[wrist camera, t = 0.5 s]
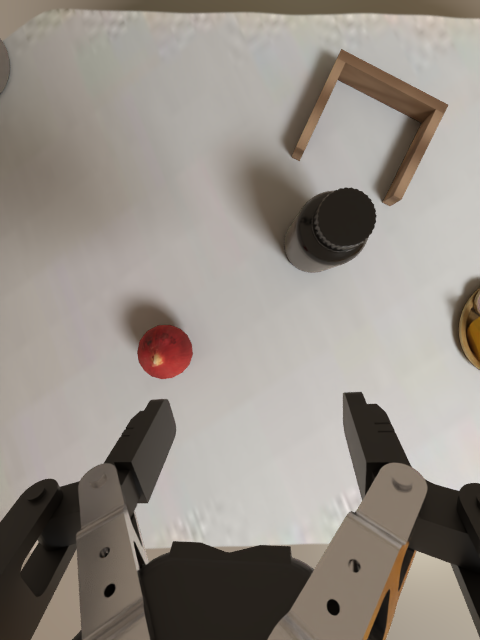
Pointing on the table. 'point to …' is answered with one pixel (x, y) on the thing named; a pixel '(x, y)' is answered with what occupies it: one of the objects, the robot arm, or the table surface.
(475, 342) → the toy sandwich meal
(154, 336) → the onion
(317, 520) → the table surface
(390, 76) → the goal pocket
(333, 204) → the supplement bottle
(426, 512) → the robot arm
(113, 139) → the table surface
